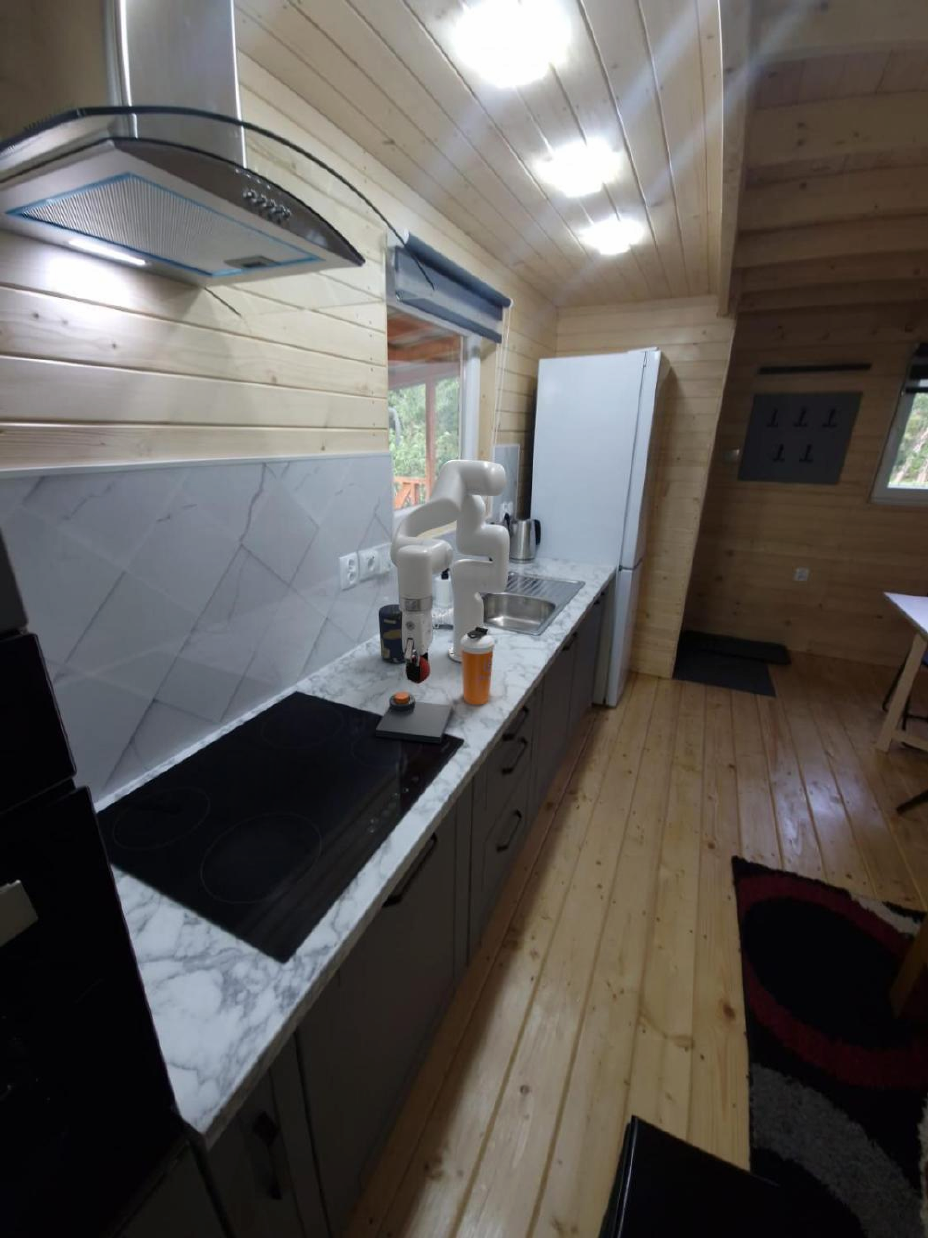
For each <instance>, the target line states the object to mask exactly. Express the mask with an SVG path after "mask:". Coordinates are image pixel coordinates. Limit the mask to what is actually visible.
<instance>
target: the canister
mask: <svg viewBox="0 0 928 1238" xmlns="http://www.w3.org/2000/svg"><path fill="white" fill-rule="evenodd" d="M402 613H403V612H402V611H400V610H399V603H398V604H397V603H392V604H391V603H390V604H387V605H383V606H382V607H380V608H379V609H378V624H379V625H378V628H379V642H380V644H379V645H380V655H381V659H383V660H384V661H386V662H388V663H402V662H406V661H405V653H404V652H403V647H402Z"/></svg>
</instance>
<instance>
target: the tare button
mask: <svg viewBox="0 0 928 1238" xmlns="http://www.w3.org/2000/svg"><path fill="white" fill-rule="evenodd" d="M408 693H409V692H406V691H399V692H396V693H394V695H395V702H396V703H401V704H402V703H407V702H408V701H409V694H410V693H409V694H408Z"/></svg>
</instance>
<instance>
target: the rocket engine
mask: <svg viewBox="0 0 928 1238" xmlns="http://www.w3.org/2000/svg"><path fill="white" fill-rule="evenodd" d="M440 624H446V625H449V626H452V627H453V607H451V608H449V609H448V610H446V611H445V612H444V613H443V614H442V613H441V612H438V613H437V612H436V611H432V625H433V629H439V627H440ZM436 625H437V627H436Z"/></svg>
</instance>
